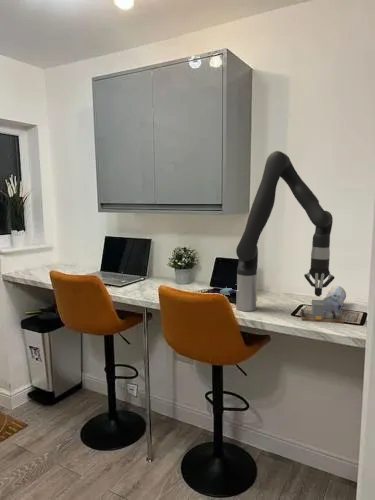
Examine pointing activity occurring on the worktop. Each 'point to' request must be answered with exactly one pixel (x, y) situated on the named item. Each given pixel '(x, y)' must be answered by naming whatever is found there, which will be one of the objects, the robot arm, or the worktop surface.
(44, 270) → the worktop surface
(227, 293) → the pistol
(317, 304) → the din module
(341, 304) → the pencil case
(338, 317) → the rail board
